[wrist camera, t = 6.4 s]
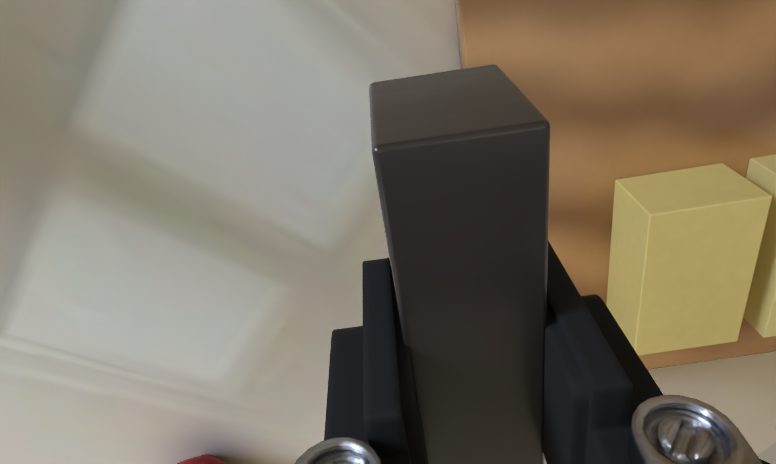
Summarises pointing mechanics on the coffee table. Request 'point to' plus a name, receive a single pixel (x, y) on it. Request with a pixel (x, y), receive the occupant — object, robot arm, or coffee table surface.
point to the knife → (468, 256)
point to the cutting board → (632, 108)
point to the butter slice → (764, 253)
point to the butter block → (684, 256)
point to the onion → (202, 460)
